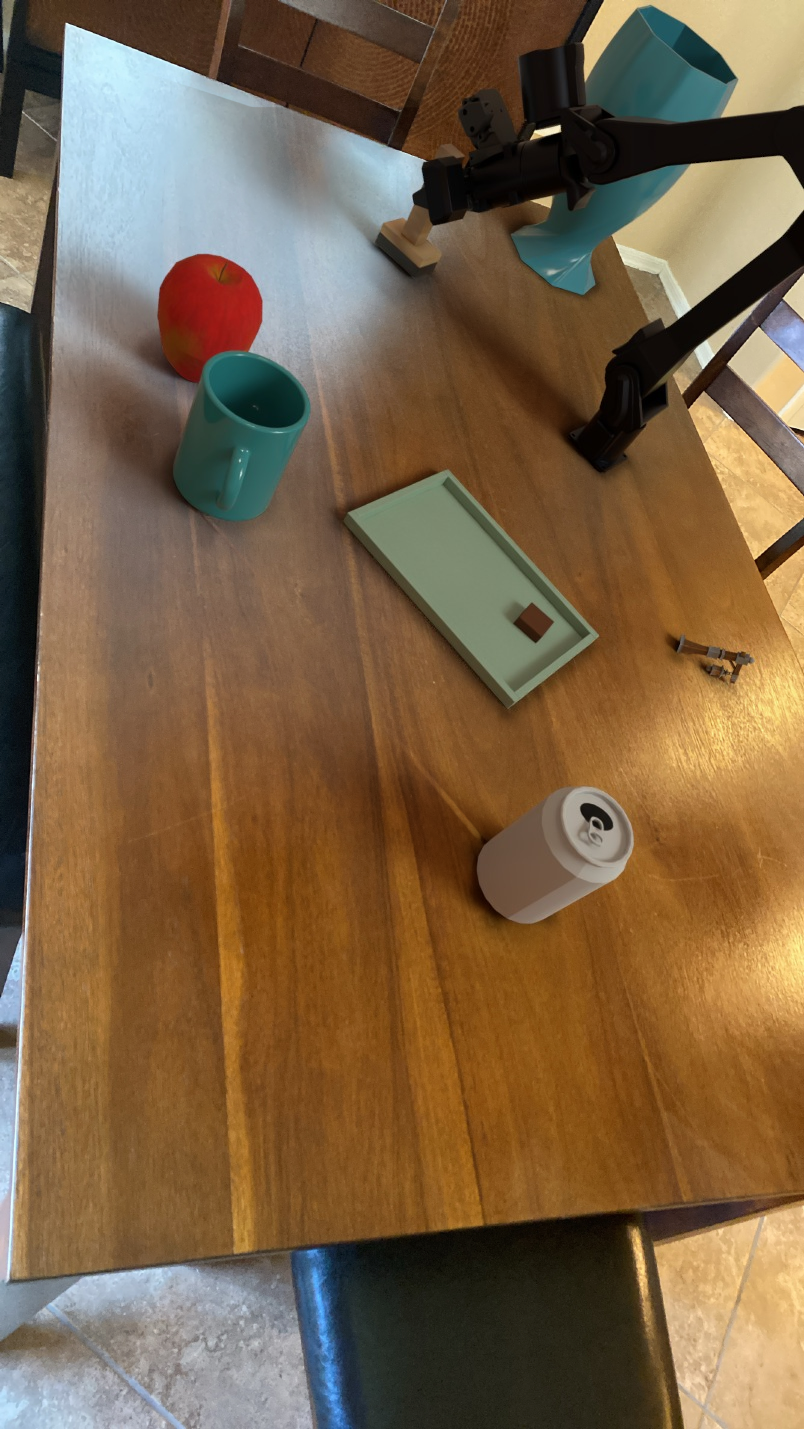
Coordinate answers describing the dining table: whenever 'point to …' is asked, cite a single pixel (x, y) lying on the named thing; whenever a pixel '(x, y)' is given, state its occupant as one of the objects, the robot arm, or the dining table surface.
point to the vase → (630, 82)
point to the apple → (206, 312)
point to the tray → (471, 582)
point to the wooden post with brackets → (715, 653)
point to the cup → (239, 435)
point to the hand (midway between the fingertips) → (419, 197)
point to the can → (555, 854)
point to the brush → (414, 233)
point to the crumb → (533, 622)
